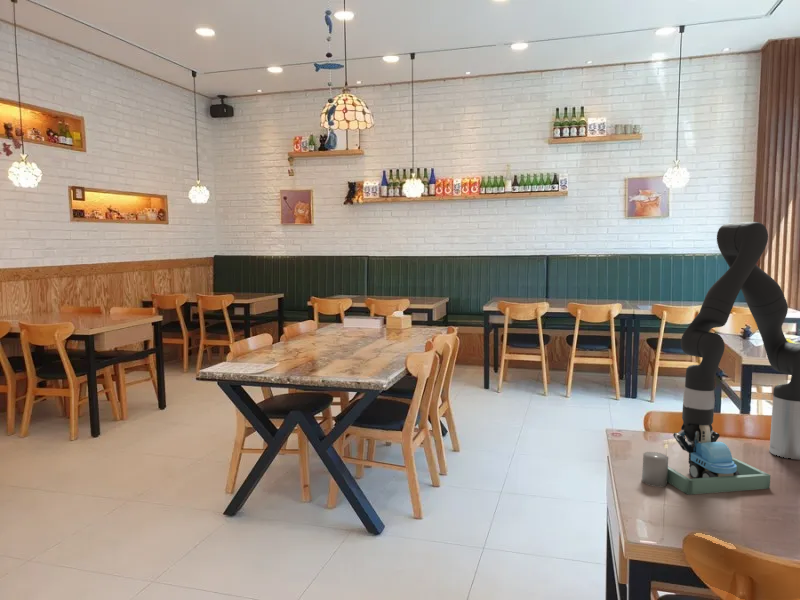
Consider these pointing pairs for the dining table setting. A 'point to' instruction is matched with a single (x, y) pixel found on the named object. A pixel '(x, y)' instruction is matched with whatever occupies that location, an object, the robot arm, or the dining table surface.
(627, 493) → the dining table surface
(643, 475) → the grey upright cylinder
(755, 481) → the bay
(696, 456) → the toy excavator
